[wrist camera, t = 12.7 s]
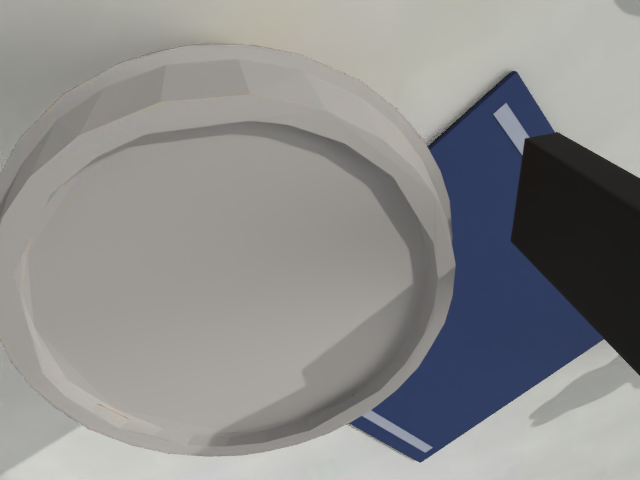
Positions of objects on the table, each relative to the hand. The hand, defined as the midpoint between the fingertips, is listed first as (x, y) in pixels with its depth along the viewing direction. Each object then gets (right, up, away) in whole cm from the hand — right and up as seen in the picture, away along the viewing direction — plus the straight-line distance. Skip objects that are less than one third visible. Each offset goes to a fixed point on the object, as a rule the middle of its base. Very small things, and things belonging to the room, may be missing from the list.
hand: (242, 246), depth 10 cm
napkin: (+10, -5, +17) cm, 20 cm away
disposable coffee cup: (-2, +5, +9) cm, 10 cm away
